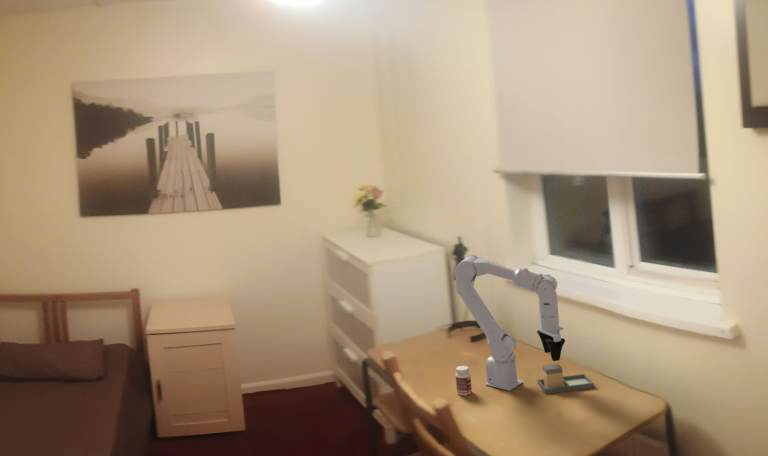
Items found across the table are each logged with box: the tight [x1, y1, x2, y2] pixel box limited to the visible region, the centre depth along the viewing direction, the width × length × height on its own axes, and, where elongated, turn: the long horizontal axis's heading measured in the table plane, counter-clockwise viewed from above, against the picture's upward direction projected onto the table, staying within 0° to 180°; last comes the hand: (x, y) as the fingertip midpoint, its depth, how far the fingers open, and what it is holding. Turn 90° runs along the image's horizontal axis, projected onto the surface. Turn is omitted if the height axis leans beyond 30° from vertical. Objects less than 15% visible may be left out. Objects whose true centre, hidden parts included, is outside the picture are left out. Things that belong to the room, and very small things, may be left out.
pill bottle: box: [455, 365, 473, 396], centre depth 207 cm, size 5×5×8 cm
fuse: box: [542, 363, 564, 388], centre depth 204 cm, size 5×4×7 cm
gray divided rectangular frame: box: [536, 373, 595, 395], centre depth 204 cm, size 16×8×2 cm, turn 92°
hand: (552, 356), depth 203 cm, fingers open, 7 cm apart
